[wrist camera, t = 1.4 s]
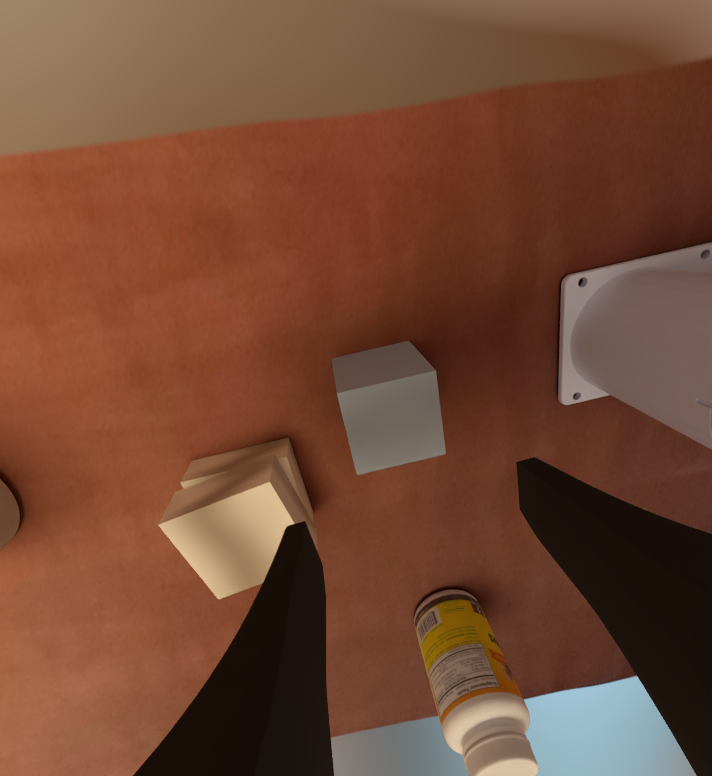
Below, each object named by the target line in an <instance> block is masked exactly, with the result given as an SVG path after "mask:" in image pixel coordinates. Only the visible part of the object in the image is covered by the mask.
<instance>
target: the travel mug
mask: <svg viewBox="0 0 712 776" xmlns="http://www.w3.org/2000/svg"><path fill="white" fill-rule="evenodd" d="M19 522H20V513H19V508H18V505H17V502H16V500H15V498H14V496H13V494H12V492H11V491H10V490H9V488H8V487H7V486H6V485H5V484H4V482H3V481H2V480H1V479H0V550H1V549H2V548H3V547H4V546H5V545H6V544H7V543H8V542H9V541H10V540H11V539H12V538H13V536H14V535H15V533H16V532H17V529H18V526H19Z"/></svg>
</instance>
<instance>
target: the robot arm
mask: <svg viewBox="0 0 712 776" xmlns="http://www.w3.org/2000/svg"><path fill="white" fill-rule="evenodd" d="M702 252H703V254H702ZM701 254H702V256H701ZM581 278H582V280H583V281H582V283H581V285H578V282H579V280H580V279H581ZM575 393H577V394H576V396H575V397H573V395H574V394H575ZM608 395H612V396H613V397H615V398H617V399H619V400H621V401H623V402H625V403H626V404H628V405H630V406H632V407H634V408H636V409H638V410H639V411H641V412H643V413H645V414H647V415H649V416H650V417H652V418H654V419H656V420H658V421H660V422H662V423H663V424H665V425H667V426H669V427H671V428H673V429H675V430H676V431H678V432H680V433H682V434H684V435H686V436H688V437H689V438H691V439H693V440H695V441H697V442H699V443H701V444H702V445H704V446H706V447H708V448H710V449H712V242H710V243H706V244H701V245H697V246H692V247H688V248H683V249H679V250H675V251H670V252H666V253H661V254H657V255H653V256H648V257H644V258H639V259H635V260H631V261H626V262H622V263H617V264H613V265H608V266H604V267H600V268H595V269H591V270H586V271H582V272H578V273H573V274H569V275H567V276H566V277H565V278H564V279H563V281H562V284H561V309H560V344H559V380H558V400H559V401H560V402H561V403H562V404H564V405H570V404H574V403H578V402H583V401H587V400H591V399H595V398H600V397H604V396H608ZM517 475H518V489H519V504H520V510H521V512H522V514H523V515H524V517H525V519H526V520H527V522H528V524H529V525H530V527H531V528H532V530H533V532H534V533H535V535H536V536H537V538H538V539H539V540H540V542H541V543H542V544H543V546H544V547H545V548H546V549H547V551H548V552H549V553H550V554H551V556H552V557H553V558H554V560H555V561H556V562H557V563H558V565H559V566H560V567H561V568H562V570H563V571H564V572H565V573H566V575H567V576H568V577H569V578H570V580H571V581H572V582H573V583H574V585H575V586H576V587H577V589H578V590H579V591H580V592H581V594H582V595H583V596H584V597H585V599H586V600H587V601H588V603H589V604H590V605H591V607H592V608H593V609H594V611H595V612H596V613H597V615H598V616H599V618H600V619H601V621H602V622H603V624H604V625H605V627H606V628H607V630H608V631H609V633H610V634H611V636H612V637H613V639H614V640H615V642H616V643H617V645H618V647H619V648H620V650H621V651H622V653H623V654H624V656H625V657H626V659H627V661H628V662H629V664H630V665H631V667H632V668H633V670H634V672H635V673H636V675H637V676H638V678H639V679H640V681H641V683H642V684H643V685H644V687H645V689H646V691H647V692H648V694H649V696H650V697H651V699H652V700H653V702H654V704H655V706H656V707H657V709H658V710H659V712H660V714H661V715H662V717H663V719H664V720H665V722H666V724H667V725H668V727H669V729H670V730H671V732H672V733H673V735H674V737H675V739H676V740H677V742H678V744H679V746H680V747H681V749H682V751H683V752H684V754H685V756H686V758H687V759H688V761H689V763H690V765H691V766H692V768H693V770H694V772H695V773H696V775H697V776H712V534H710V533H707V532H704V531H701V530H698V529H695V528H692V527H689V526H686V525H683V524H680V523H677V522H675V521H672V520H669V519H667V518H664V517H661V516H658V515H656V514H653V513H651V512H648V511H646V510H643V509H641V508H638V507H636V506H634V505H632V504H629V503H627V502H625V501H622V500H620V499H618V498H615V497H613V496H611V495H609V494H607V493H605V492H603V491H600V490H598V489H596V488H594V487H592V486H590V485H588V484H586V483H584V482H582V481H580V480H578V479H576V478H574V477H572V476H570V475H568V474H566V473H564V472H562V471H560V470H558V469H557V468H555V467H553V466H551V465H549V464H547V463H545V462H543V461H541V460H539V459H537V458H535V457H534V458H530V459H526V460H523V461H519V462H517ZM133 776H334V771H333V759H332V749H331V738H330V727H329V715H328V703H327V689H326V593H325V583H324V575H323V566H322V562H321V560H320V557H319V555H318V552H317V550H316V547H315V544H314V542H313V539H312V537H311V534H310V532H309V529H308V526H307V524H306V521H303V522H300V523H296V524H292V525H289V526H287V527H286V529H285V531H284V534H283V536H282V539H281V541H280V544H279V547H278V549H277V552H276V554H275V556H274V559H273V561H272V564H271V566H270V568H269V570H268V573H267V575H266V577H265V579H264V582H263V584H262V586H261V588H260V590H259V592H258V594H257V596H256V598H255V600H254V602H253V604H252V606H251V608H250V610H249V612H248V614H247V616H246V618H245V620H244V622H243V623H242V625H241V627H240V629H239V631H238V632H237V634H236V636H235V637H234V639H233V641H232V642H231V644H230V646H229V647H228V649H227V651H226V652H225V654H224V656H223V657H222V659H221V660H220V662H219V663H218V665H217V666H216V668H215V669H214V671H213V673H212V674H211V676H210V677H209V679H208V680H207V682H206V683H205V685H204V686H203V687H202V689H201V690H200V692H199V693H198V695H197V696H196V697H195V699H194V700H193V701H192V703H191V704H190V705H189V707H188V708H187V709H186V711H185V712H184V713H183V715H182V716H181V717H180V719H179V720H178V721H177V723H176V724H175V725H174V727H173V728H172V729H171V731H170V732H169V733H168V735H167V736H166V737H165V738H164V740H163V741H162V742H161V743H160V745H159V746H158V747H157V748H156V749H155V751H154V752H153V753H152V754H151V755H150V756H149V758H148V759H147V760H146V761H145V762H144V764H143V765H142V766H141V767H140V768H139V769H138V771H137V772H136V773H135V774H134V775H133Z"/></svg>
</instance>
